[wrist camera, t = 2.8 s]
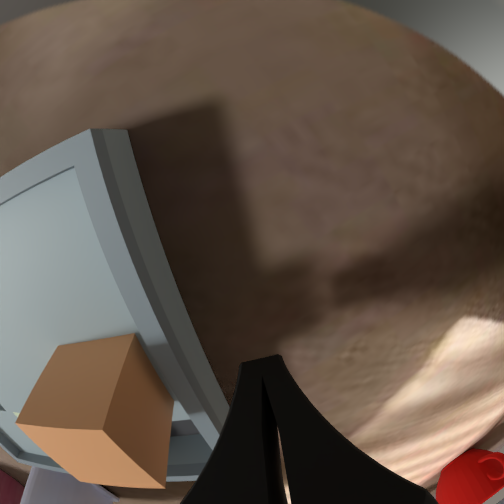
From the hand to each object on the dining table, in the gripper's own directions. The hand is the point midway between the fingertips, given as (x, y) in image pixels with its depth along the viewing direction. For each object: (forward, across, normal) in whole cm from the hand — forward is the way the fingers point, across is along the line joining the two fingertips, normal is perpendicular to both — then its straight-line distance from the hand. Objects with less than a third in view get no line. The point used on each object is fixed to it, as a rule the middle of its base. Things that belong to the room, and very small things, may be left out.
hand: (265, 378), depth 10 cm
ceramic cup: (+4, -24, +38) cm, 45 cm away
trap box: (+4, +13, 0) cm, 13 cm away
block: (+2, +6, 0) cm, 6 cm away
